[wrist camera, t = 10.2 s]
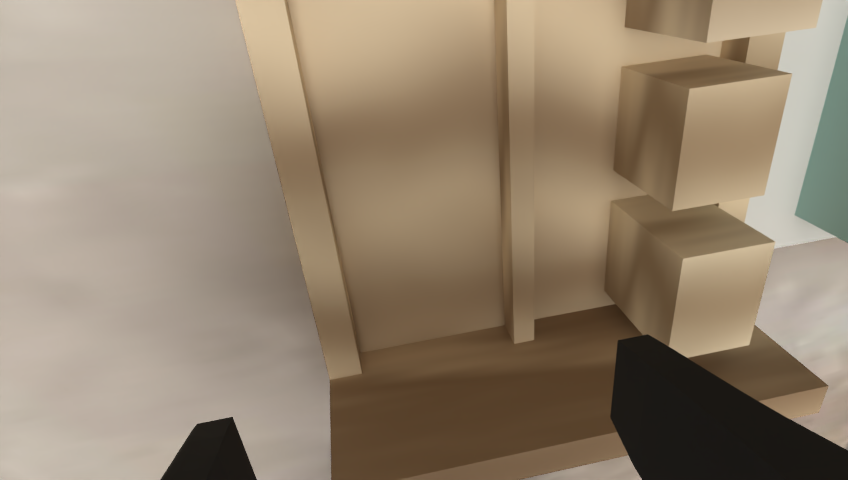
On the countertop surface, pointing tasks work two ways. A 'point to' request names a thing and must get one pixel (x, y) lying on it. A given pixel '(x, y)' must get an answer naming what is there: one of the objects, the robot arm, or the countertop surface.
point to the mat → (799, 127)
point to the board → (830, 157)
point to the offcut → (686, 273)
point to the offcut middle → (698, 129)
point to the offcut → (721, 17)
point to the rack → (470, 225)
